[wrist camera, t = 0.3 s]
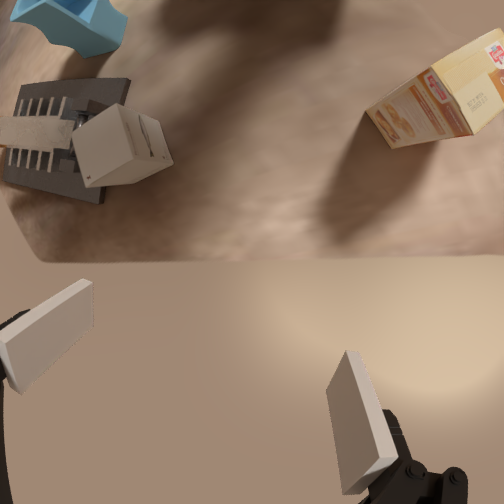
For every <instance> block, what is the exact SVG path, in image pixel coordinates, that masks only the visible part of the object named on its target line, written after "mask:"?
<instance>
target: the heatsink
mask: <svg viewBox="0 0 504 504" xmlns="http://www.w3.org/2000/svg"><path fill="white" fill-rule="evenodd" d="M130 83H131V80H129V79H128V78H88V79H70V80H58V81H49V82H40V83H33V84H26V85H21V88H20V92H19V95H18V99H17V103H16V107H15V111H14V115H13V117H31V118H49V119H62V120H73V121H76V122H77V118H78V114H86V115H89V117H88V121H89V120H91V119H92V118H94V117H95V116H97V115H98V114H100V113H101V112H103V111H104V110H106V109H107V108H109V107H111V106H112V105H114V104H115V103H117V104H120V105H122V106H124V103H125V99H126V96H127V93H128V89H129V86H130ZM88 121H87V122H88ZM75 126H76V124H75ZM74 130H75V128H74ZM71 145H72V142H71ZM6 147H7V151H6V157H5V165H4V173H3V181H5V182H9V183H13V184H18V185H22V186H26V187H30V188H34V189H38V190H42V191H46V192H50V193H55V194H59V195H63V196H67V197H71V198H75V199H79V200H83V201H87V202H91V203H95V204H103V203H104V197H105V190H106V186H100V187H90V188H86V187H85V184H84V181H83V178H82V174H81V171H80V167H79V164H78V161H77V157H69V155H70V150H71V147H70V149H61V148H50V147H38V146H23V145H7V146H6Z"/></svg>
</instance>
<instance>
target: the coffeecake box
mask: <svg viewBox="0 0 504 504" xmlns="http://www.w3.org/2000/svg"><path fill="white" fill-rule="evenodd" d="M503 109H504V33H503V32H502V30H501V29H500V28H497V29H495V30H493V31H490V32H489V33H487V34H485V35H483V36H481V37H479V38H477V39H475V40H473V41H471V42H470V43H468V44H466V45H464V46H462V47H461V48H459V49H457V50H456V51H454V52H452V53H451V54H449V55H447V56H445V57H444V58H442V59H440V60H439V61H437V62H435V63H434V64H432V65H431V66H430V67H428V68H426V69H425V70H423V71H422V72H420V73H419V74H417V75H415V76H414V77H412V78H411V79H409V80H408V81H406V82H405V83H403V84H402V85H400V86H399V87H398V88H396V89H395V90H393V91H392V92H391V93H389V94H388V95H386V96H385V97H383V98H382V99H381V100H379V101H378V102H376V103H375V104H373V105H372V106H370V107H369V108H368V109H366V110H365V111H366V113H367V114H368V115H369V117H370V118H371V119H372V121H373V122H374V124H375V125H376V126H377V128H378V129H379V131H380V132H381V134H382V135H383V137H384V138H385V140H386V141H387V143H388V144H389V146H390V147H391V149H392V150H393V149H396V148H400V147H405V146H410V145H415V144H421V143H426V142H432V141H437V140H443V139H449V138H455V137H462V136H469V135H475V134H476V133H477V132H479V131H480V130H481V129H482V128H483V127H484V126H485V125H487V124H488V123H489V122H490V121H491V120H492V119H493V118H495V117H496V116H497V115H498V114H499V113H500V112H501V111H502V110H503Z"/></svg>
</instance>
